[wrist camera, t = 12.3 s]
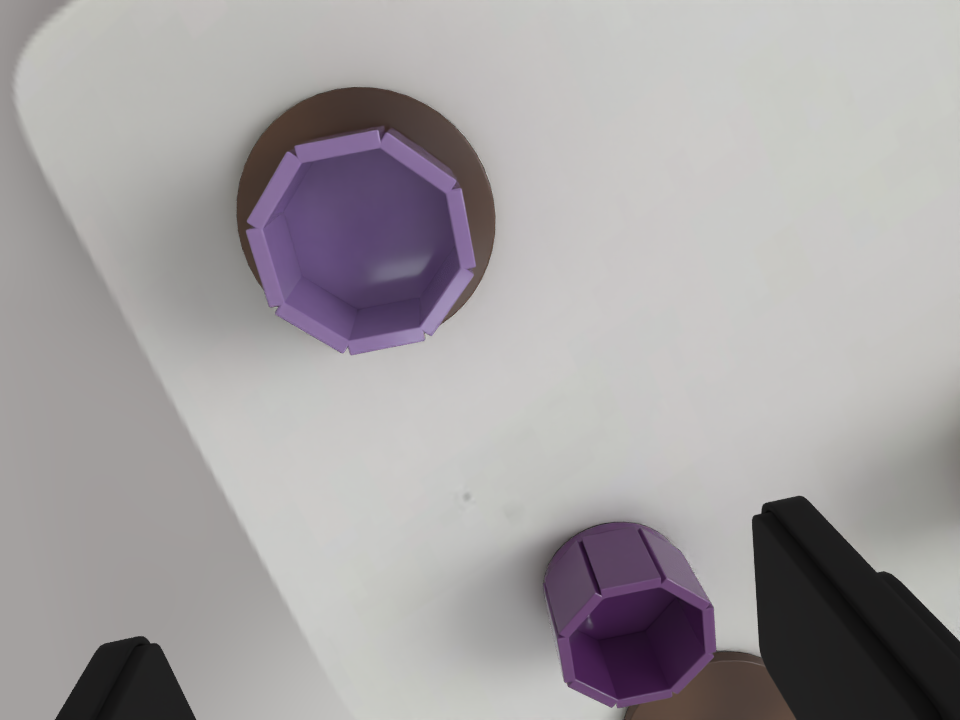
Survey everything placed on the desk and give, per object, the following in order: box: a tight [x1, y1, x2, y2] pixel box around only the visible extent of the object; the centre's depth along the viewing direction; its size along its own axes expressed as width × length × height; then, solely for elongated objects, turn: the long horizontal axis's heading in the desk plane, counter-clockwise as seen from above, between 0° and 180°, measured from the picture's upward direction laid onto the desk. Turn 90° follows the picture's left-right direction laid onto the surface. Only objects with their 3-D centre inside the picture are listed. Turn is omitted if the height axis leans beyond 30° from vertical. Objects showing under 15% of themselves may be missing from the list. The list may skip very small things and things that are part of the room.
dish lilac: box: [246, 125, 476, 355], centre depth 22 cm, size 6×6×4 cm
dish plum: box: [543, 522, 716, 708], centre depth 29 cm, size 6×6×4 cm
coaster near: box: [237, 87, 495, 325], centre depth 24 cm, size 9×9×1 cm
